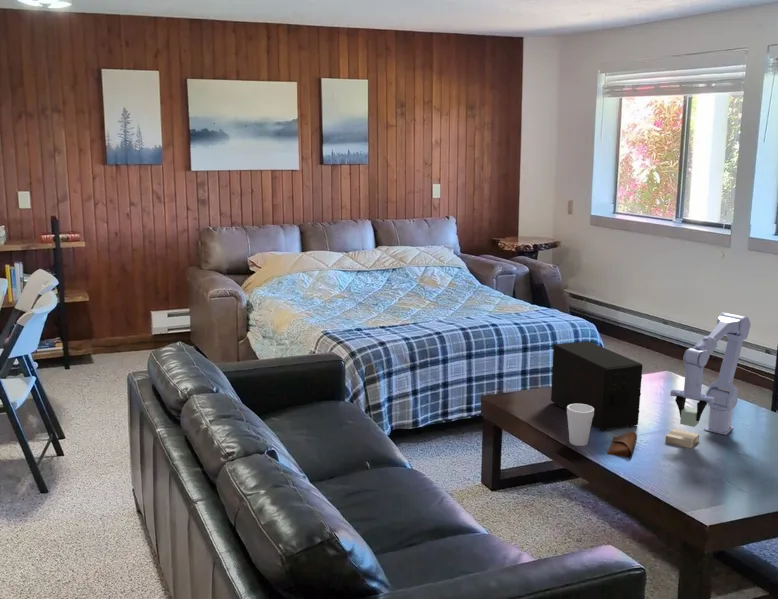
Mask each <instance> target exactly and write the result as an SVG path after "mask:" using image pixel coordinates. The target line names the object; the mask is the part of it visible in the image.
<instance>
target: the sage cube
mask: <svg viewBox="0 0 778 599" xmlns="http://www.w3.org/2000/svg"><path fill="white" fill-rule="evenodd" d="M696 417H697V408H693V407H688V406H685V407H684V409H683V410H681V418H680V421H679V422H680V425H683V426H688V427H693V428H695V427H696V426H697V425H698V424H699V422H700V420H699V421H696Z"/></svg>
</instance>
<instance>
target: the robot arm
mask: <svg viewBox="0 0 778 599" xmlns="http://www.w3.org/2000/svg"><path fill="white" fill-rule="evenodd" d="M750 328H751V321H750V318H749V317H748V316H746V315H745V316H744V315H738V314H733V313H728V312H725V311H723V312H721V313H719V316H718V317H717V320H716V326H715V327H714V328H713V330H712V331H711V332H710V333H709V335H704V336H703V337H702V338H701V339H700V340H699V341H698V342H697V343H696V344H695V345H694V346H693V347H690V348H688V349H686V350H685V352H684V354H683V357H682V359H683V360H682V361H683V363H684V369H685V374H684V384H683V386H684V387H683V390H679V389H671V390H670V394H669V395H670V397H675V400H674V401H675V403H676V405H677V407H678V412H679V418H680V419H681V410H683V409H684V408H685V407H686V402H687V401H686V399H687V400H692V401H697V404H696V409H697V417H696V421H699V422H700V421H701V416H702V414H703V412H704V410H705V408H706V406H707V405H708V407H709V414H708V423H707V426H706V427H705V428H704V431H706V432H710V433H711V432H712V433H716V434H721V435H725V436H726V435H728V434H729V433H730V432H731V431H732V430H733V428H734V426H732V425H731V424H732V414H733V411H732V410H733V409H734V408H736V406H737V403H738V394H739V391H738V389H737V388H736V386H735V385H734V384H733V382H734V377H735V374H736V370H737V366H738V362H739V359H740V354H741V350H742V346H743V344H744V341H745V340H747V339H748V336H749V333H750ZM725 336H726V337H727V343H726V347H725V350H724V353H723V354H724V355H723V357H722V363H721V365H720V370H719V374H718V377H717V380H715V381H712V382H711V383H710V384H709V386H708V389H707V390H706V392H705V394H702V384H703V375H704V367H706V365H707V363H708V360H709V359H710V355H711V354H712V353H713V352H714V351H715V350H716V348H717V347H718V342H719V341H720V340H721V339H722V338H723V337H725Z"/></svg>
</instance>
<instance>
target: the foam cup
mask: <svg viewBox="0 0 778 599" xmlns="http://www.w3.org/2000/svg"><path fill="white" fill-rule="evenodd" d="M566 415H567V426H568V427H567V428H568V438H569V439H568V440H569V443H570V444H571V445H573V446H577V447H579V446H580V447H583V446H587V445H588V443H589V438H590V433H591V427H592V425H591V424H592V419H593V417H594V408H593V407H592V406H589V405H586V404H570V405H568V406H567V410H566Z"/></svg>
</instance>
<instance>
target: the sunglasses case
mask: <svg viewBox="0 0 778 599" xmlns="http://www.w3.org/2000/svg"><path fill="white" fill-rule="evenodd" d="M637 440H638V436H637V433H636V431H634V430H632V431H628V432H626V433H623V434H620V435H615V436H614V437H613V438H612V442H611V444H610V447H609V448H608V450H607V453H606V454H607V455H610V456H617V457H623V458H627V459H631V458H632V456H633V453H634V449H635V446H636V442H637Z"/></svg>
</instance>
